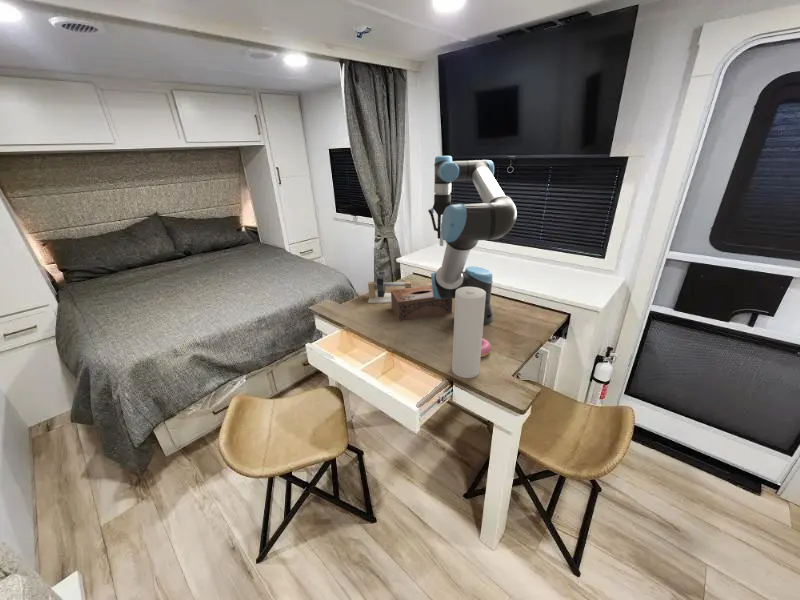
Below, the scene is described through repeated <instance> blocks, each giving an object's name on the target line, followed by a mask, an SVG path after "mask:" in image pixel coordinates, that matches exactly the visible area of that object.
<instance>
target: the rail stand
mask: <svg viewBox="0 0 800 600" xmlns="http://www.w3.org/2000/svg"><path fill="white" fill-rule="evenodd" d="M367 285H368V289H367V290H368V302H367V304H392V303H391V292H385V294H384V297H378V292H376V287H377V282H375V281H368V284H367ZM384 286H385V287H404V289H405V288H412V281H403V282H401V281H398V282H395V281H394V282H389V281H388V282H386V281H385V283H384Z"/></svg>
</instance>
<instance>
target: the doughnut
mask: <svg viewBox="0 0 800 600" xmlns="http://www.w3.org/2000/svg"><path fill="white" fill-rule="evenodd" d="M491 350H492V345H491V343H490V342H489V341H488V340H487V339H485V338H483V337H482V346H481V357H480V358H482V357H487V356H488V355H489V354H490V352H491Z"/></svg>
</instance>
